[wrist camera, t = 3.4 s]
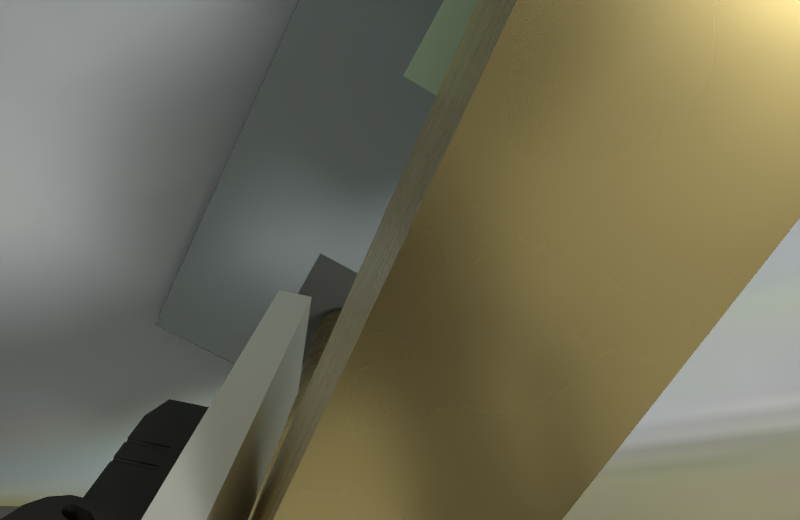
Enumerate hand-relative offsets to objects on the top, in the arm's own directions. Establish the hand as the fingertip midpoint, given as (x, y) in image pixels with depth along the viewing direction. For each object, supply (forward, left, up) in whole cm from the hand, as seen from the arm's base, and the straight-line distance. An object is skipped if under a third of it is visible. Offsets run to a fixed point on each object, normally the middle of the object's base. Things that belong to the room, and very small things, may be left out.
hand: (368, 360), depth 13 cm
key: (-2, 0, -8) cm, 8 cm away
